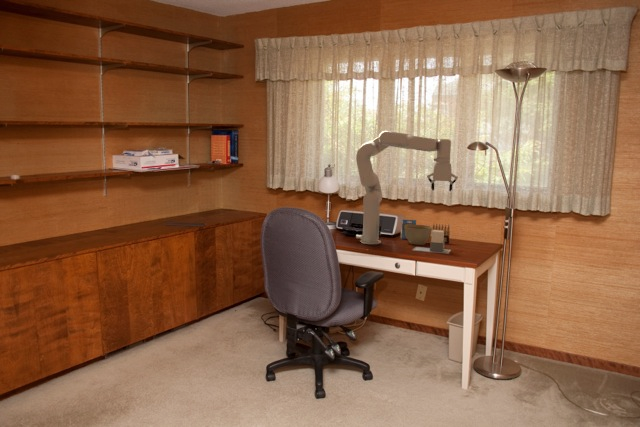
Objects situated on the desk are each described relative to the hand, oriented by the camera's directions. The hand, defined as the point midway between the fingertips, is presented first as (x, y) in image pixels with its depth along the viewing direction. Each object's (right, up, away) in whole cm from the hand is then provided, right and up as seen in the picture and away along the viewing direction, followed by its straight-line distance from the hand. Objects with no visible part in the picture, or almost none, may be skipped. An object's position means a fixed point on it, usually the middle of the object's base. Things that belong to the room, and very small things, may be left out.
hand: (441, 190), depth 324 cm
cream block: (-4, -29, -10) cm, 31 cm away
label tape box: (-14, -29, +32) cm, 46 cm away
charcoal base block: (-4, -34, -9) cm, 35 cm away
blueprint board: (-7, -35, -8) cm, 36 cm away
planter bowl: (-12, -32, +12) cm, 36 cm away
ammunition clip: (+3, -31, +19) cm, 37 cm away
